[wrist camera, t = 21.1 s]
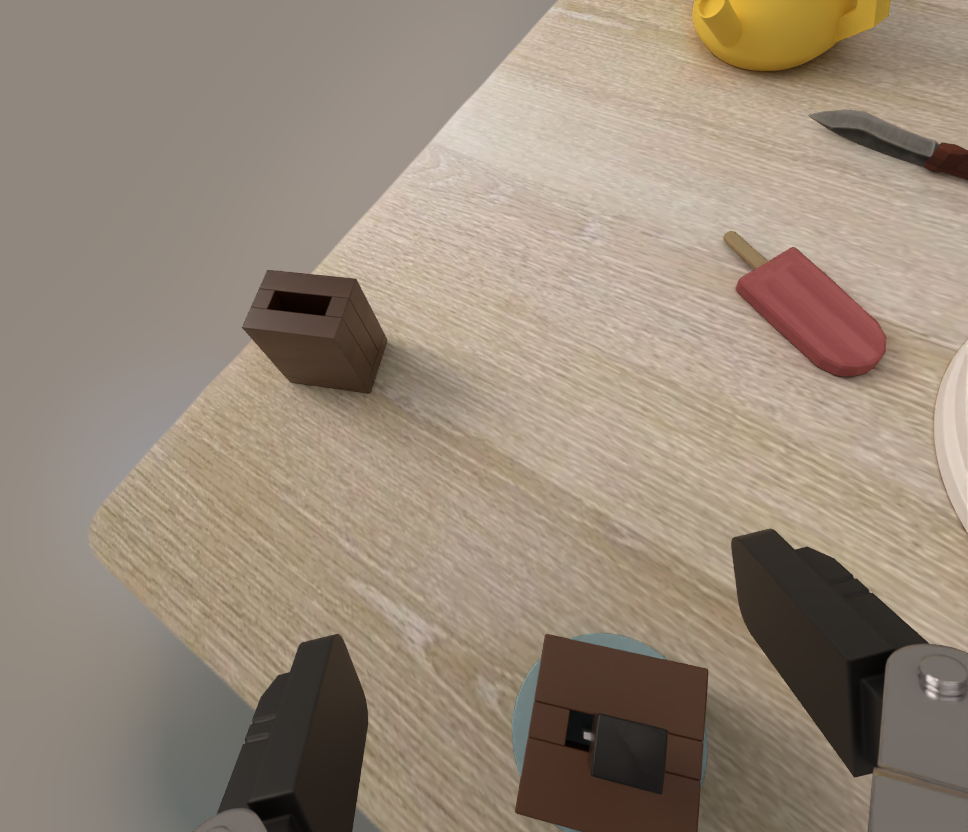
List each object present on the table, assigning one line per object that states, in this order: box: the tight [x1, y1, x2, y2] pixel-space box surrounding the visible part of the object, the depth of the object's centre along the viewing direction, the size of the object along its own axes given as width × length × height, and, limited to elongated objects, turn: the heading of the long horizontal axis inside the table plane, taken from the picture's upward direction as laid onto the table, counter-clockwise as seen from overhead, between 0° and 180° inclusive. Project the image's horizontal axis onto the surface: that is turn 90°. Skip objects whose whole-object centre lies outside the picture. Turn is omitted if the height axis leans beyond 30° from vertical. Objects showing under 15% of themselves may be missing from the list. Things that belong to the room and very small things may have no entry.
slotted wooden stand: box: [512, 633, 708, 832], centre depth 33 cm, size 11×11×8 cm
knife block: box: [242, 270, 387, 393], centre depth 46 cm, size 5×7×8 cm
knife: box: [808, 110, 968, 180], centre depth 49 cm, size 18×2×3 cm, turn 52°
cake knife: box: [582, 712, 668, 795], centre depth 28 cm, size 2×3×16 cm, turn 78°
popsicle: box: [723, 231, 886, 377], centre depth 46 cm, size 5×2×15 cm
